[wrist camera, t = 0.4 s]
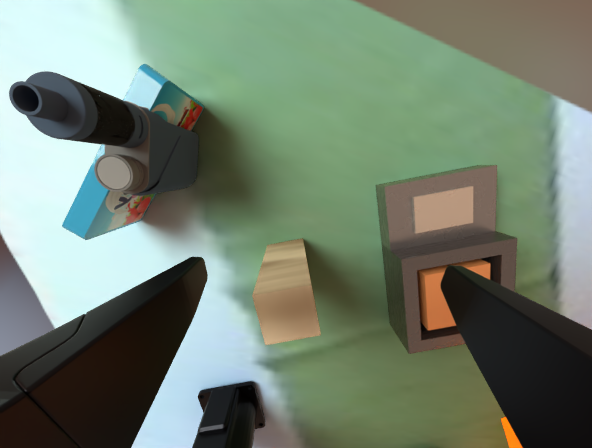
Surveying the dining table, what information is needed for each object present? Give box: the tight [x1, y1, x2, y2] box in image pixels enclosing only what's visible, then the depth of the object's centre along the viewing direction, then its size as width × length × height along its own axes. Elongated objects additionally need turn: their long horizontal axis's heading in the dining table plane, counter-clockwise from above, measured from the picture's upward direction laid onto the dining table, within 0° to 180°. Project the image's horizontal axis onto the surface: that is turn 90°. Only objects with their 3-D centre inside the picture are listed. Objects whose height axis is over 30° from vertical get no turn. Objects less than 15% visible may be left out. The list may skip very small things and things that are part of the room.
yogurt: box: [62, 64, 204, 240], centre depth 17 cm, size 12×2×6 cm, turn 145°
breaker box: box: [376, 165, 517, 354], centre depth 20 cm, size 15×9×4 cm, turn 11°
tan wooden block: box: [252, 238, 321, 345], centre depth 18 cm, size 4×4×9 cm
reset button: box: [417, 259, 490, 330], centre depth 20 cm, size 6×6×2 cm
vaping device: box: [9, 72, 199, 196], centre depth 14 cm, size 3×5×12 cm, turn 170°
